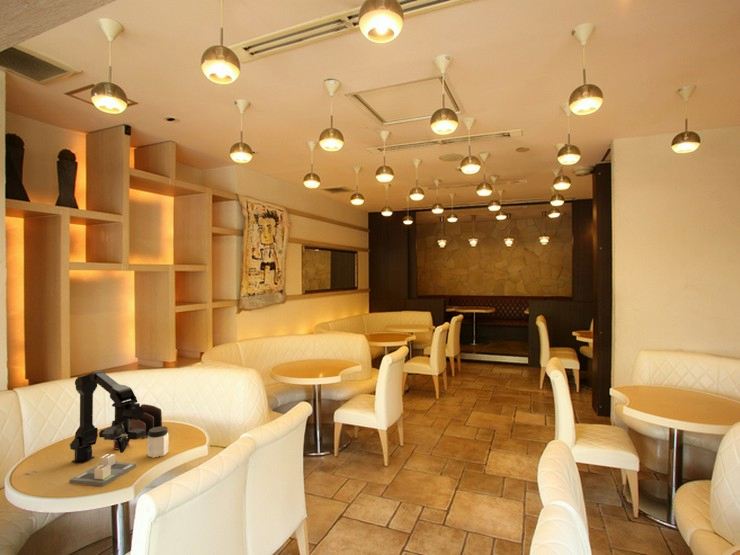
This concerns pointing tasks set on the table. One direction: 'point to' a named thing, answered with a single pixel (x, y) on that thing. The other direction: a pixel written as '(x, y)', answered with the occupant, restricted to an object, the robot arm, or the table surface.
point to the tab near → (102, 472)
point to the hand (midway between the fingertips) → (122, 452)
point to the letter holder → (148, 419)
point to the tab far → (107, 459)
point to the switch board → (116, 472)
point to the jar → (157, 442)
